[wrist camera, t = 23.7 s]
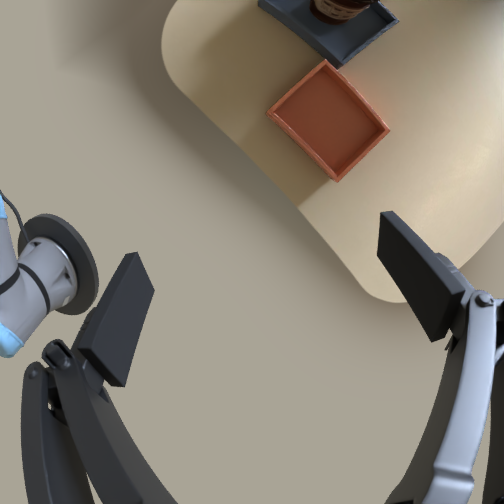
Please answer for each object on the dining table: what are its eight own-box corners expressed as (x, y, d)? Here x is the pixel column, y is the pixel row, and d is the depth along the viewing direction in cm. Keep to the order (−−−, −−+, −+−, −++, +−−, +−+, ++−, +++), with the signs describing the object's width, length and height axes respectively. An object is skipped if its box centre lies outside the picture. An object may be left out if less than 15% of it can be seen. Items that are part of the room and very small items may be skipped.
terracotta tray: (265, 113, 34) (266, 111, 31) (319, 64, 30) (325, 58, 27) (330, 178, 37) (337, 182, 34) (380, 130, 34) (390, 130, 31)
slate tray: (257, 5, 26) (258, -4, 23) (319, -33, 22) (323, -43, 19) (336, 69, 30) (343, 65, 27) (390, 27, 26) (399, 21, 23)
